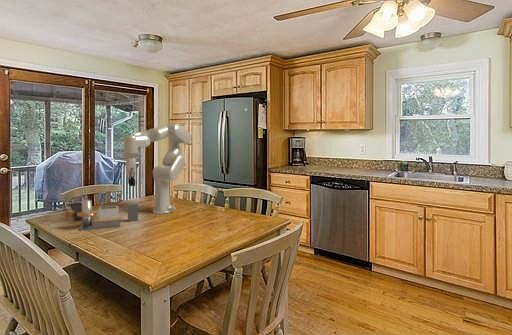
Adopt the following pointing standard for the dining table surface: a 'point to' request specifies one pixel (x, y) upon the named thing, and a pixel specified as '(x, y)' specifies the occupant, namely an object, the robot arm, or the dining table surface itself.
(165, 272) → the dining table surface
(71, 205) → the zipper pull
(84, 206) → the grey boxy fixture
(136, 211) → the grey block
